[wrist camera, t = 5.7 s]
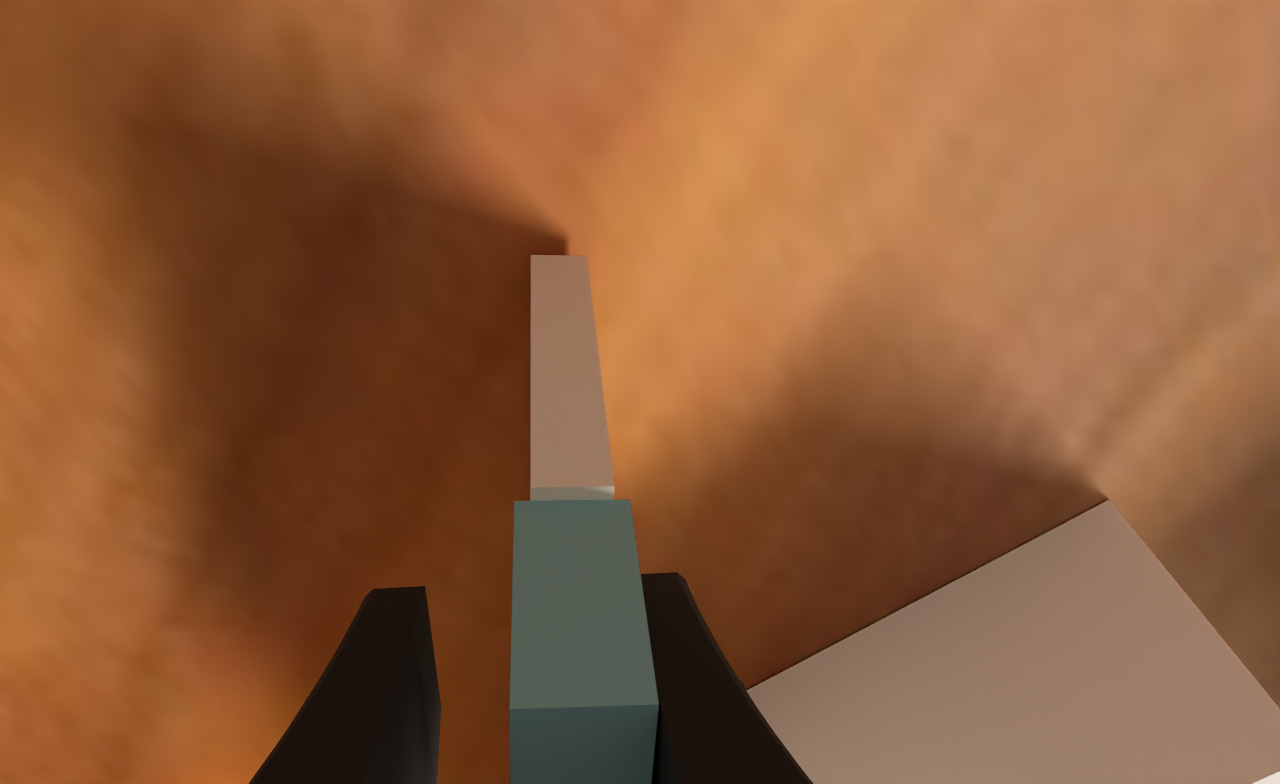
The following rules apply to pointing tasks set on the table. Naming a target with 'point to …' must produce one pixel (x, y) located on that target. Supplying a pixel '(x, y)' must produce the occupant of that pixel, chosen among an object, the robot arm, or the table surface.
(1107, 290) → the table surface
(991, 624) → the carton
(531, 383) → the green beige flat block
